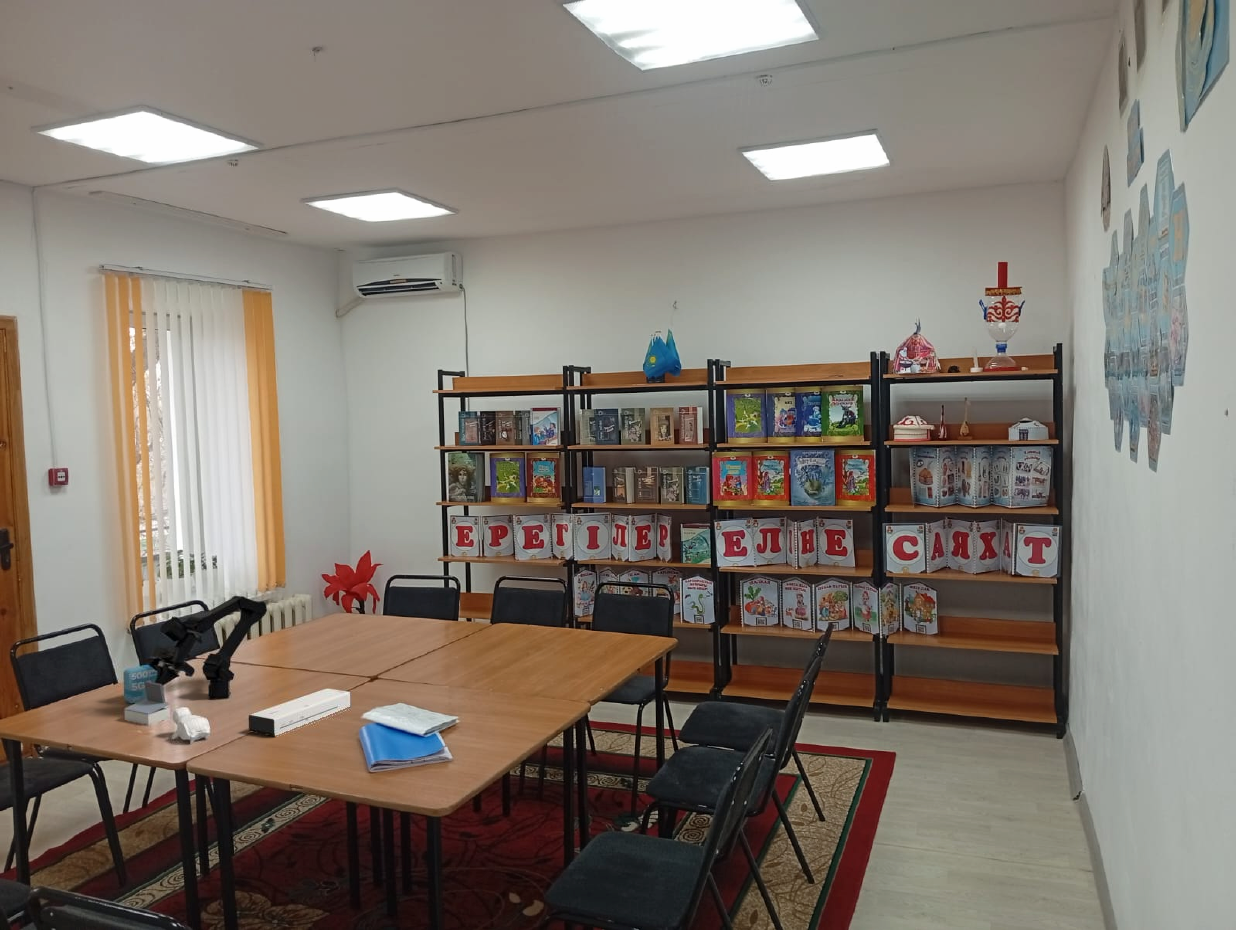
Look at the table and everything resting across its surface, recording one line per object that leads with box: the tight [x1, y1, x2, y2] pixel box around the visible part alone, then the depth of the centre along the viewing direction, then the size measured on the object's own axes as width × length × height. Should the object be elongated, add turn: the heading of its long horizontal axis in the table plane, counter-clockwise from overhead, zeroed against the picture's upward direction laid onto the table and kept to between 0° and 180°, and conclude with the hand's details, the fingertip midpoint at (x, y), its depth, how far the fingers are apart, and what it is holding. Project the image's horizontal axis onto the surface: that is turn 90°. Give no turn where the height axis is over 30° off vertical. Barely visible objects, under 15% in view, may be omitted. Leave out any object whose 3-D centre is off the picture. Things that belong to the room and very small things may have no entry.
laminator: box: [248, 687, 352, 737], centre depth 304 cm, size 34×12×6 cm, turn 153°
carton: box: [124, 706, 171, 726], centre depth 305 cm, size 8×12×4 cm, turn 63°
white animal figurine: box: [171, 706, 211, 745], centre depth 287 cm, size 9×8×15 cm
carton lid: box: [123, 681, 170, 715], centre depth 304 cm, size 8×12×7 cm, turn 63°
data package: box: [122, 664, 164, 704], centre depth 328 cm, size 12×4×12 cm, turn 142°
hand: (155, 688), depth 308 cm, fingers closed, pressing on carton lid
